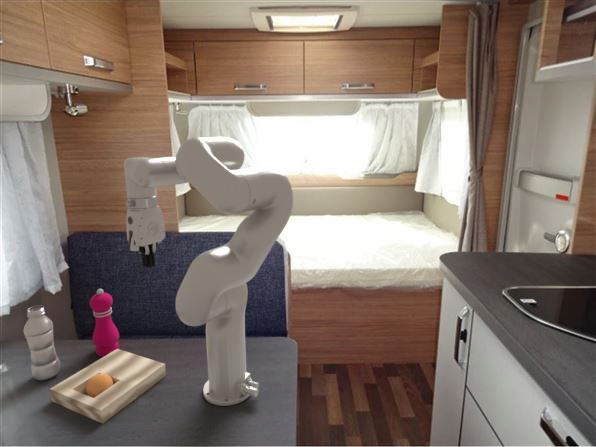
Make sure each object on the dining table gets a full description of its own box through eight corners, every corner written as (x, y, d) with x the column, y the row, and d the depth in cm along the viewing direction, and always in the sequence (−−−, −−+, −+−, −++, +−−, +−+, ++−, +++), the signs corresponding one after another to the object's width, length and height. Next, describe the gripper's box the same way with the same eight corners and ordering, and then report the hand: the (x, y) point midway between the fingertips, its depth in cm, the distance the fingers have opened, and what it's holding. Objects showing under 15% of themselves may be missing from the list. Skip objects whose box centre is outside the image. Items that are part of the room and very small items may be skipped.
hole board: (166, 375, 108) (165, 363, 107) (102, 423, 90) (101, 410, 89) (118, 359, 115) (117, 348, 114) (51, 401, 98) (49, 388, 97)
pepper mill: (110, 358, 116) (102, 294, 111) (88, 355, 117) (79, 292, 113) (125, 345, 123) (118, 285, 118) (105, 343, 124) (97, 283, 119)
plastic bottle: (66, 372, 109) (56, 305, 105) (42, 386, 103) (30, 316, 99) (51, 366, 112) (40, 301, 107) (27, 380, 106) (14, 311, 101)
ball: (113, 367, 102) (94, 371, 96) (121, 388, 100) (103, 394, 94) (96, 379, 103) (77, 383, 97) (104, 400, 101) (85, 407, 95)
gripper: (131, 209, 101) (138, 277, 105) (172, 199, 114) (177, 260, 118) (110, 206, 104) (117, 272, 108) (152, 197, 117) (158, 257, 121)
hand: (149, 266), depth 113 cm, fingers closed
